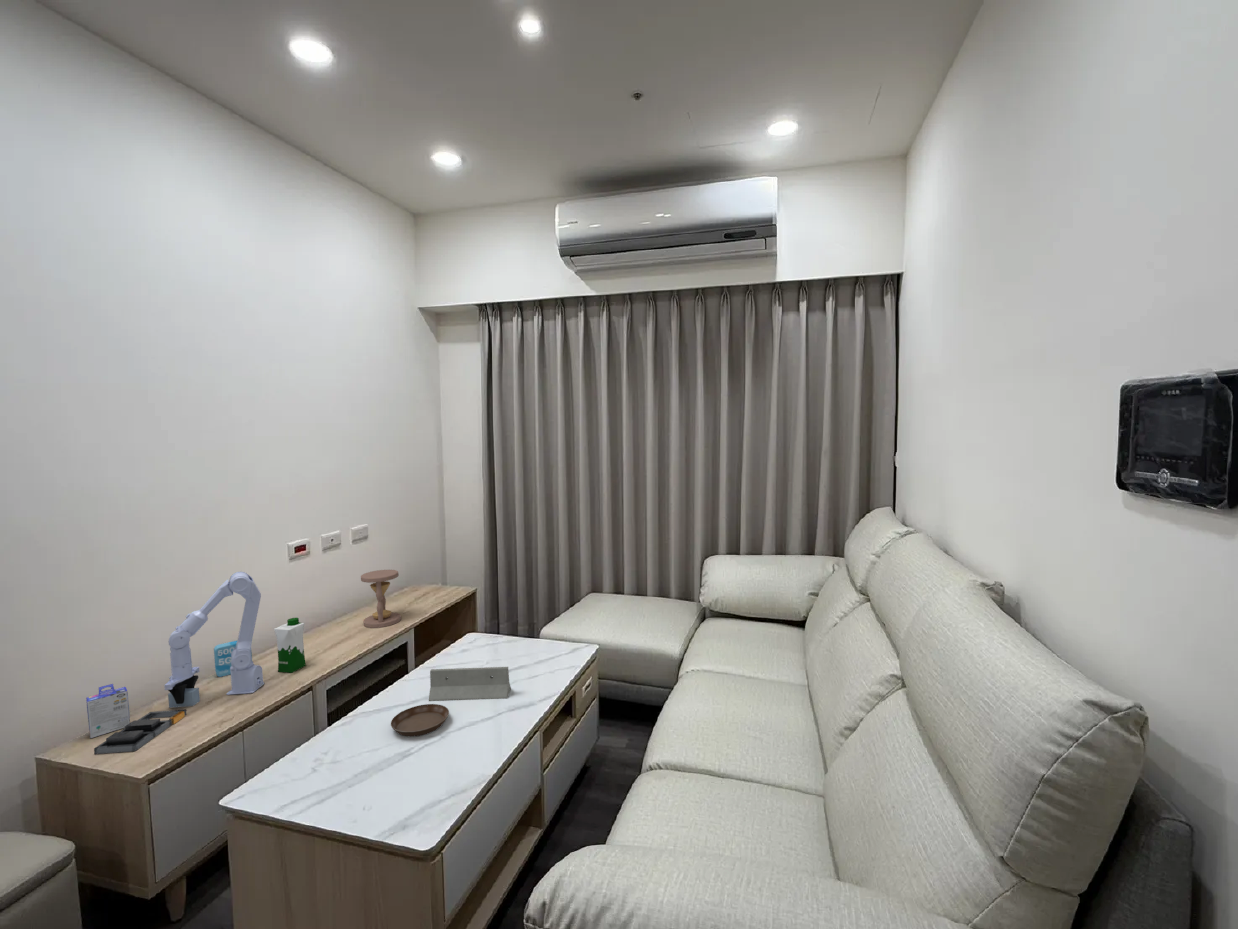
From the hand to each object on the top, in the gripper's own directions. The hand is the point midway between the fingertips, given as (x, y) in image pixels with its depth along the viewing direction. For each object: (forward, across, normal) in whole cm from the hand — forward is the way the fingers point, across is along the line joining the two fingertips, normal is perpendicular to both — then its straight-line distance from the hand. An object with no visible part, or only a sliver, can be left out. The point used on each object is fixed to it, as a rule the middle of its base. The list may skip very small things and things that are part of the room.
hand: (184, 700), depth 195 cm
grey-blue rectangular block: (+1, 0, 0) cm, 1 cm away
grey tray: (+1, +19, 0) cm, 19 cm away
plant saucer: (+2, +27, +90) cm, 94 cm away
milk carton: (+2, -26, +24) cm, 35 cm away
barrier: (+2, +8, +102) cm, 103 cm away
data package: (+2, -27, +1) cm, 27 cm away
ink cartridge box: (+2, +15, -13) cm, 20 cm away
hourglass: (+2, -79, +42) cm, 89 cm away
